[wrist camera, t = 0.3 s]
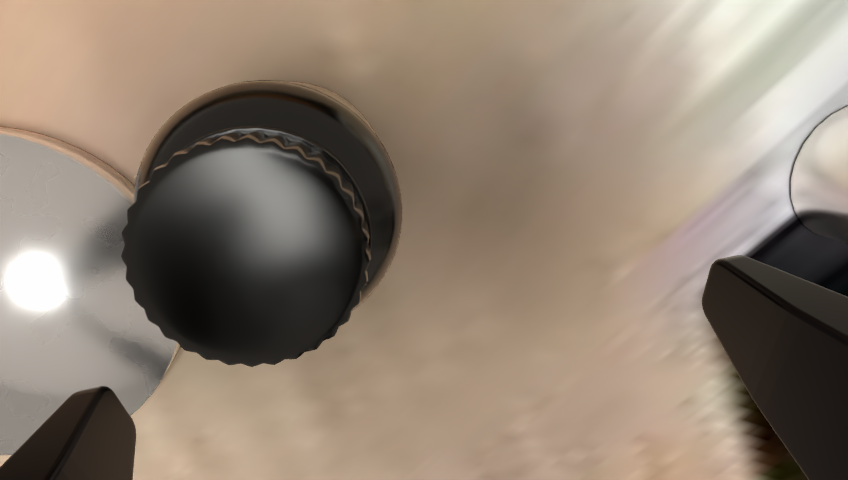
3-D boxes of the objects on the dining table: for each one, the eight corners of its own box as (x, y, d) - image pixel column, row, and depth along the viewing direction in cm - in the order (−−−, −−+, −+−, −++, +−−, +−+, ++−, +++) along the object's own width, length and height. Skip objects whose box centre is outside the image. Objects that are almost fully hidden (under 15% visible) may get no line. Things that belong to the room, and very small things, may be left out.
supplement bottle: (412, 132, 22) (487, 192, 11) (336, 274, 24) (333, 459, 12) (253, 45, 21) (145, 6, 9) (180, 203, 22) (5, 342, 10)
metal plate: (107, 474, 25) (93, 499, 23) (-227, 352, 21) (-268, 373, 20) (244, 234, 22) (238, 244, 21) (-103, 54, 19) (-138, 52, 18)
